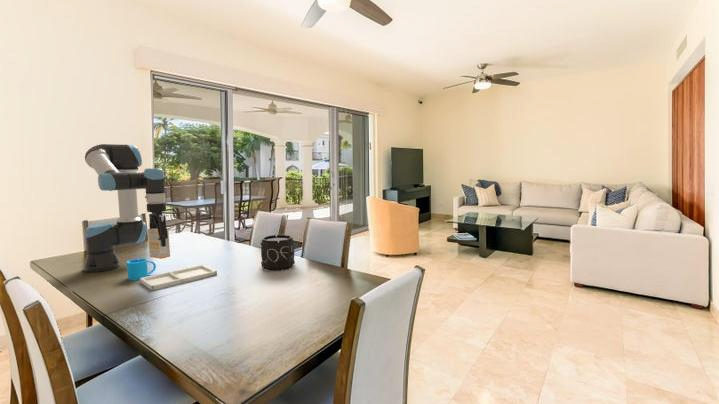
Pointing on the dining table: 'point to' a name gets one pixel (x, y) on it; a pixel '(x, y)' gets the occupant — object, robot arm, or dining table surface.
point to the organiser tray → (177, 277)
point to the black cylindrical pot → (277, 252)
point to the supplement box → (157, 244)
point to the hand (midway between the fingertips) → (159, 251)
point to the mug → (138, 268)
